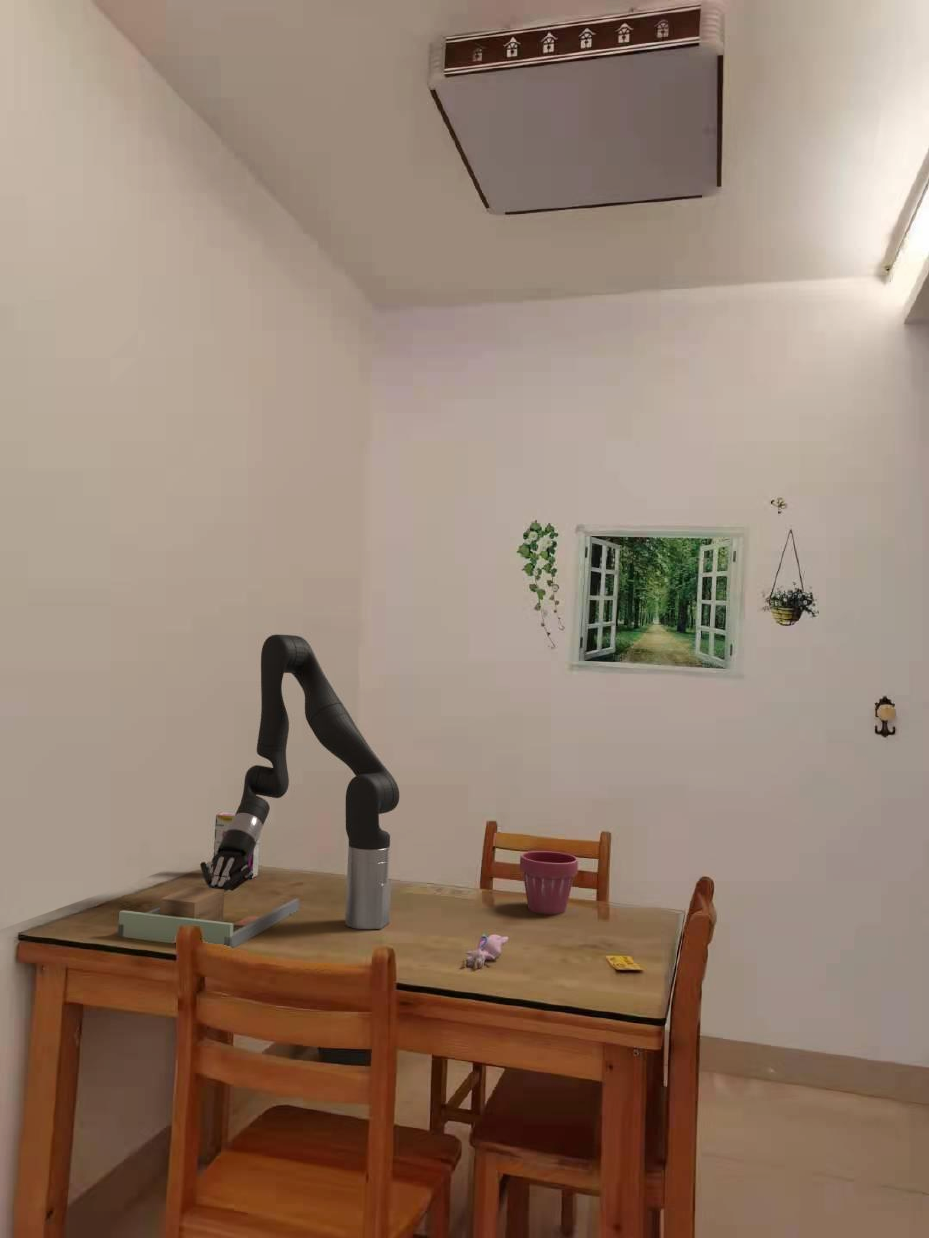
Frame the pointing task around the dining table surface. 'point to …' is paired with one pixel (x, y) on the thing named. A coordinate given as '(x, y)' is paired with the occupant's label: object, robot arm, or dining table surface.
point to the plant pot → (548, 880)
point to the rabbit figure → (485, 950)
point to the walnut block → (194, 904)
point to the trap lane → (213, 931)
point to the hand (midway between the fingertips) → (211, 903)
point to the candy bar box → (220, 830)
